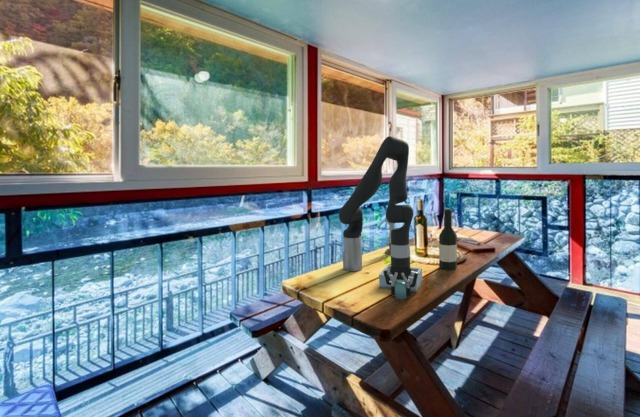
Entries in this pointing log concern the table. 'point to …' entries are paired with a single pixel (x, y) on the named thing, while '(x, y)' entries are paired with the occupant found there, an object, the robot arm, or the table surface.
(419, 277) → the blue-grey tote
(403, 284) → the teal glossy cylinder
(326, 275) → the table surface
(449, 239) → the wine bottle
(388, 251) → the candle holder
